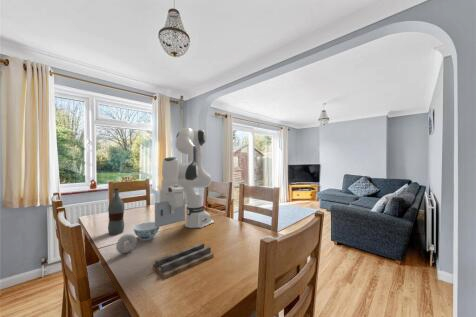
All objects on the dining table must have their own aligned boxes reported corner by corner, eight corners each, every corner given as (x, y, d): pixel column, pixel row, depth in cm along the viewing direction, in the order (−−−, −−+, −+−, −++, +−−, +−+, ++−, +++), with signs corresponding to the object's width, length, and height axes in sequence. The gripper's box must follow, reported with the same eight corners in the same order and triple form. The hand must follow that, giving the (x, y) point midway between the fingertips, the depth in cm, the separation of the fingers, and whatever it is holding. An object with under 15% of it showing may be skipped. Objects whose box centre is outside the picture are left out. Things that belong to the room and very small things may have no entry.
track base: (200, 248, 109) (200, 241, 109) (213, 256, 100) (213, 248, 101) (152, 267, 90) (152, 258, 90) (164, 278, 82) (164, 269, 82)
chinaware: (149, 244, 114) (149, 231, 114) (127, 242, 117) (127, 229, 117) (164, 234, 129) (164, 223, 129) (144, 232, 132) (144, 221, 132)
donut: (117, 257, 99) (117, 237, 99) (115, 255, 101) (115, 236, 101) (137, 250, 107) (137, 232, 107) (134, 248, 109) (135, 230, 109)
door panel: (182, 219, 112) (182, 198, 112) (185, 220, 110) (185, 199, 110) (154, 226, 101) (154, 203, 101) (157, 227, 99) (157, 204, 99)
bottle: (123, 229, 138) (124, 187, 138) (124, 233, 131) (124, 188, 131) (108, 232, 133) (108, 188, 133) (107, 236, 126) (108, 189, 126)
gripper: (156, 185, 111) (156, 210, 111) (174, 190, 97) (174, 218, 97) (167, 184, 115) (167, 208, 115) (185, 188, 101) (185, 215, 101)
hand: (170, 212), depth 106 cm, fingers closed on door panel, 2 cm apart
